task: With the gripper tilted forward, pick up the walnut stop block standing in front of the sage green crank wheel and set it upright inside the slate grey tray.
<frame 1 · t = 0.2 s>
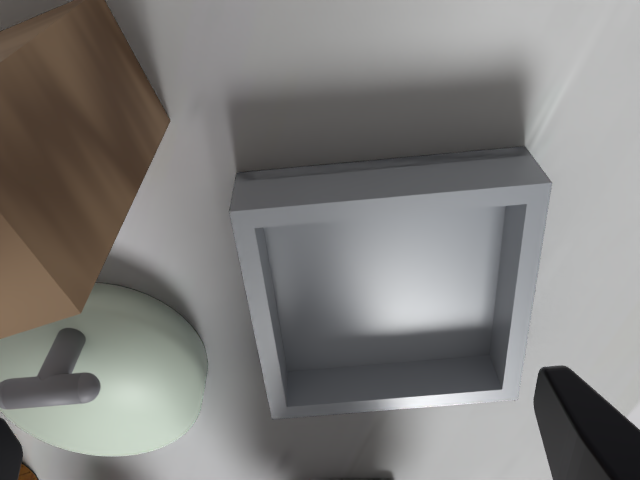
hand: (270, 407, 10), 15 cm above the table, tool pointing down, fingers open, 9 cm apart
tray: (383, 273, 27), on the table
stop block: (76, 83, 21), on the table
crank wheel: (107, 360, 29), on the table
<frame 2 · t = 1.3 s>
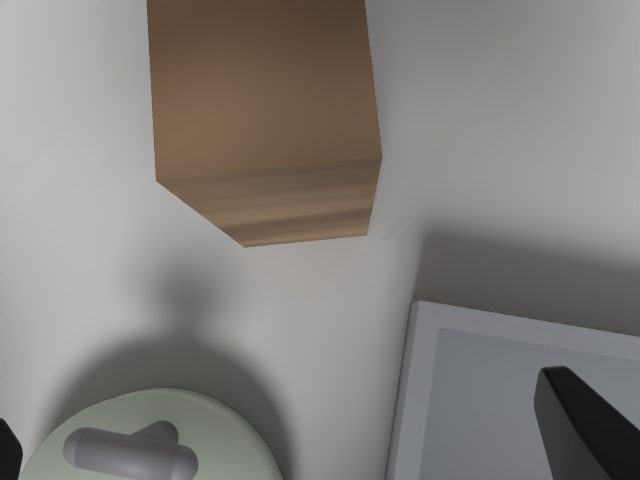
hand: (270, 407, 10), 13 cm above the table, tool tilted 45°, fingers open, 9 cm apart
stop block: (299, 181, 24), on the table
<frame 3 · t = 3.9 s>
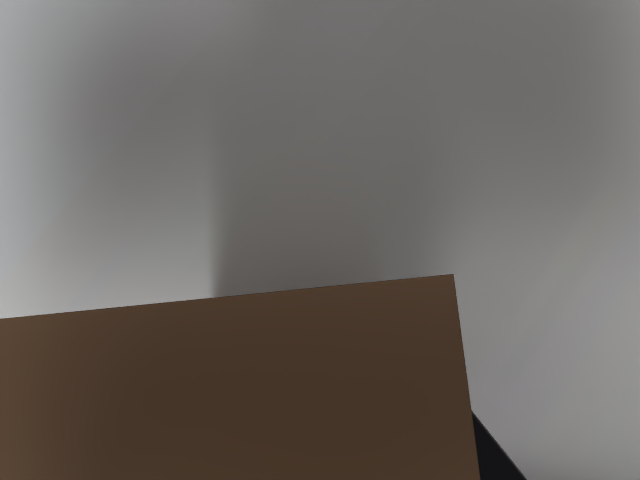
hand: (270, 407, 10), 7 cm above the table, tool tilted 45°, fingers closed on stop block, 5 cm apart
stop block: (305, 407, 16), on the table, touching gripper
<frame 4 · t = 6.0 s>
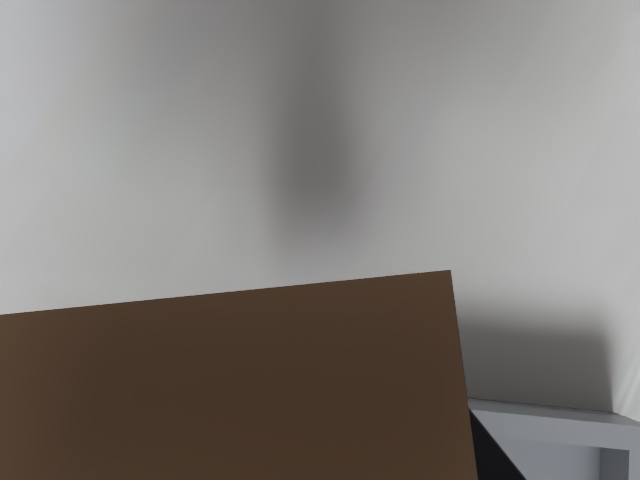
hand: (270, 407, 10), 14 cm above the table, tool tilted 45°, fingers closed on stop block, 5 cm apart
stop block: (304, 406, 16), point 7 cm above the table, touching gripper
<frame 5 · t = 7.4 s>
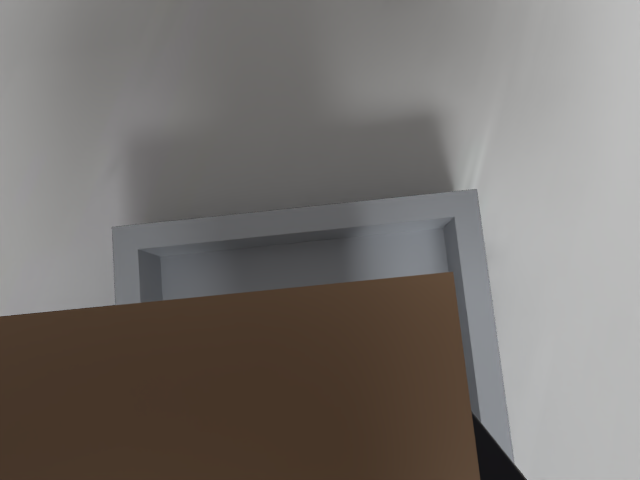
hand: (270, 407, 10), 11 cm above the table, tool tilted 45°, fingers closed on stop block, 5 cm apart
tray: (315, 385, 21), on the table
stop block: (304, 407, 16), point 4 cm above the table, touching gripper
when the fingers open (9 cm above the table, at t = 8.6 s): stop block drops 2 cm, resting on tray.
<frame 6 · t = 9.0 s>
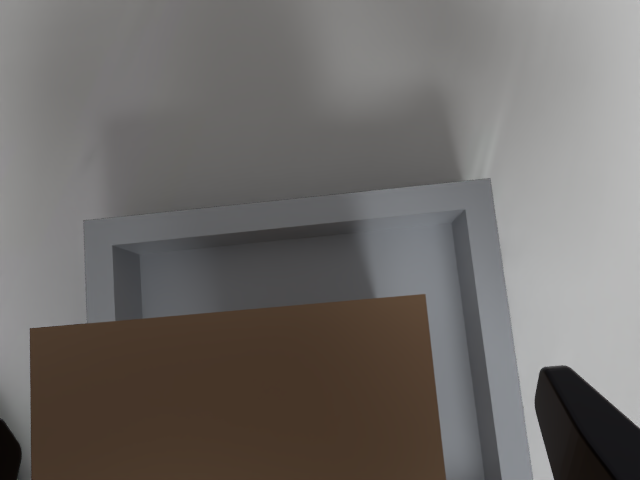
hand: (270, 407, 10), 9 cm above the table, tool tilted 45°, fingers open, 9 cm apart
tray: (310, 396, 19), on the table
stop block: (305, 402, 18), point 1 cm above the table, touching tray
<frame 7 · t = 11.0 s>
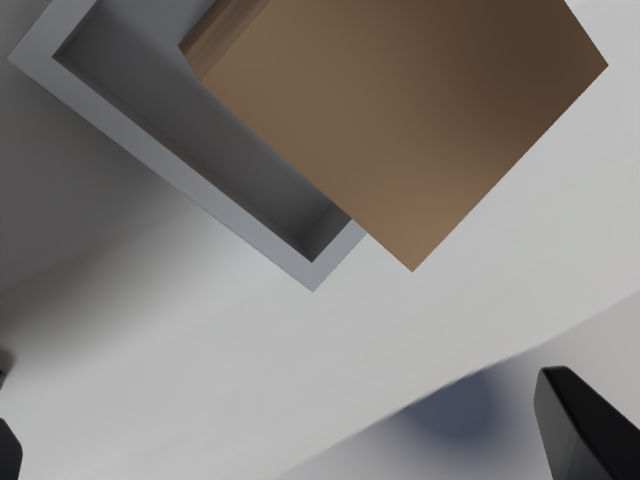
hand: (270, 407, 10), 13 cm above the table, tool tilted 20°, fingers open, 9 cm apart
tray: (285, 42, 20), on the table
stop block: (286, 42, 19), point 1 cm above the table, touching tray
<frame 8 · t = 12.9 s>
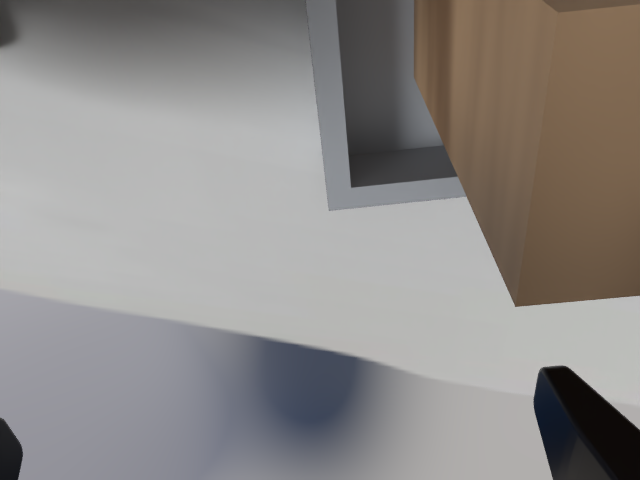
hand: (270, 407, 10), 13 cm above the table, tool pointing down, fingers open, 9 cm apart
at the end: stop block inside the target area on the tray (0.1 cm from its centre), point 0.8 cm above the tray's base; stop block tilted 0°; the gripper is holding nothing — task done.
